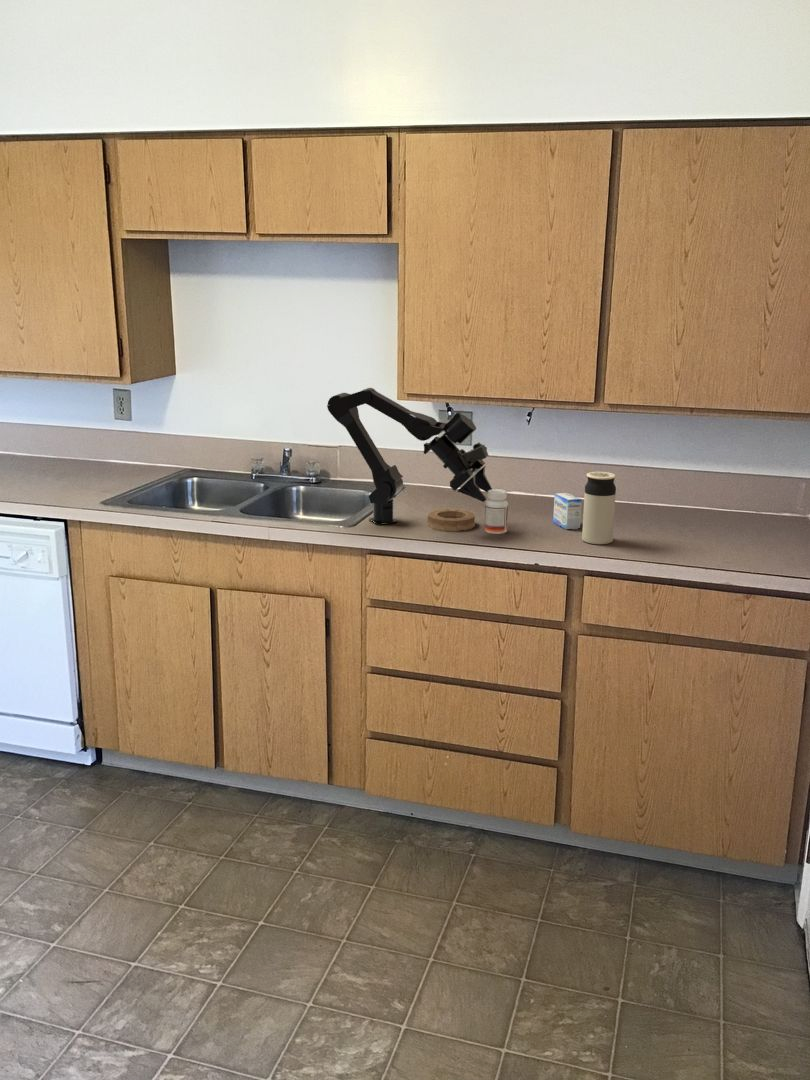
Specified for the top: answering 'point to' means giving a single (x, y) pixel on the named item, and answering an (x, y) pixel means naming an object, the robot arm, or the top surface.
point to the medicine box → (567, 511)
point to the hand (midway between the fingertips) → (488, 496)
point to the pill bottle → (496, 512)
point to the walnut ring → (451, 519)
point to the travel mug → (599, 508)
